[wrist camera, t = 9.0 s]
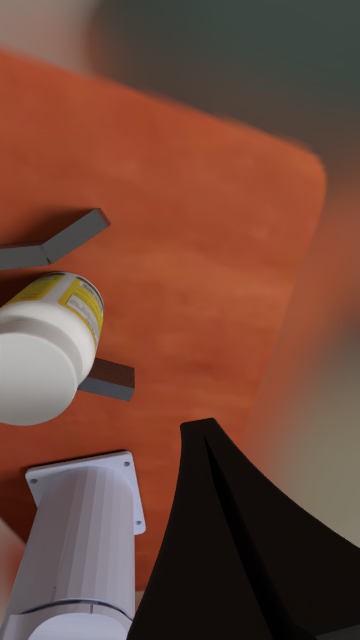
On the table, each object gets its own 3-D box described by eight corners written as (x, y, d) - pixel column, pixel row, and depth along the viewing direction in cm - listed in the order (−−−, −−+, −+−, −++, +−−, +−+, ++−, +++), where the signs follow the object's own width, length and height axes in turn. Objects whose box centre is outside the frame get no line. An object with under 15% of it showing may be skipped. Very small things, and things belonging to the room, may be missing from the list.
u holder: (136, 378, 21) (136, 400, 19) (3, 398, 20) (-14, 424, 18) (108, 207, 17) (104, 207, 14) (-64, 222, 16) (-97, 225, 13)
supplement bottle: (18, 330, 18) (-64, 422, 11) (33, 259, 17) (-50, 304, 9) (95, 349, 20) (71, 443, 12) (114, 284, 18) (101, 342, 10)
